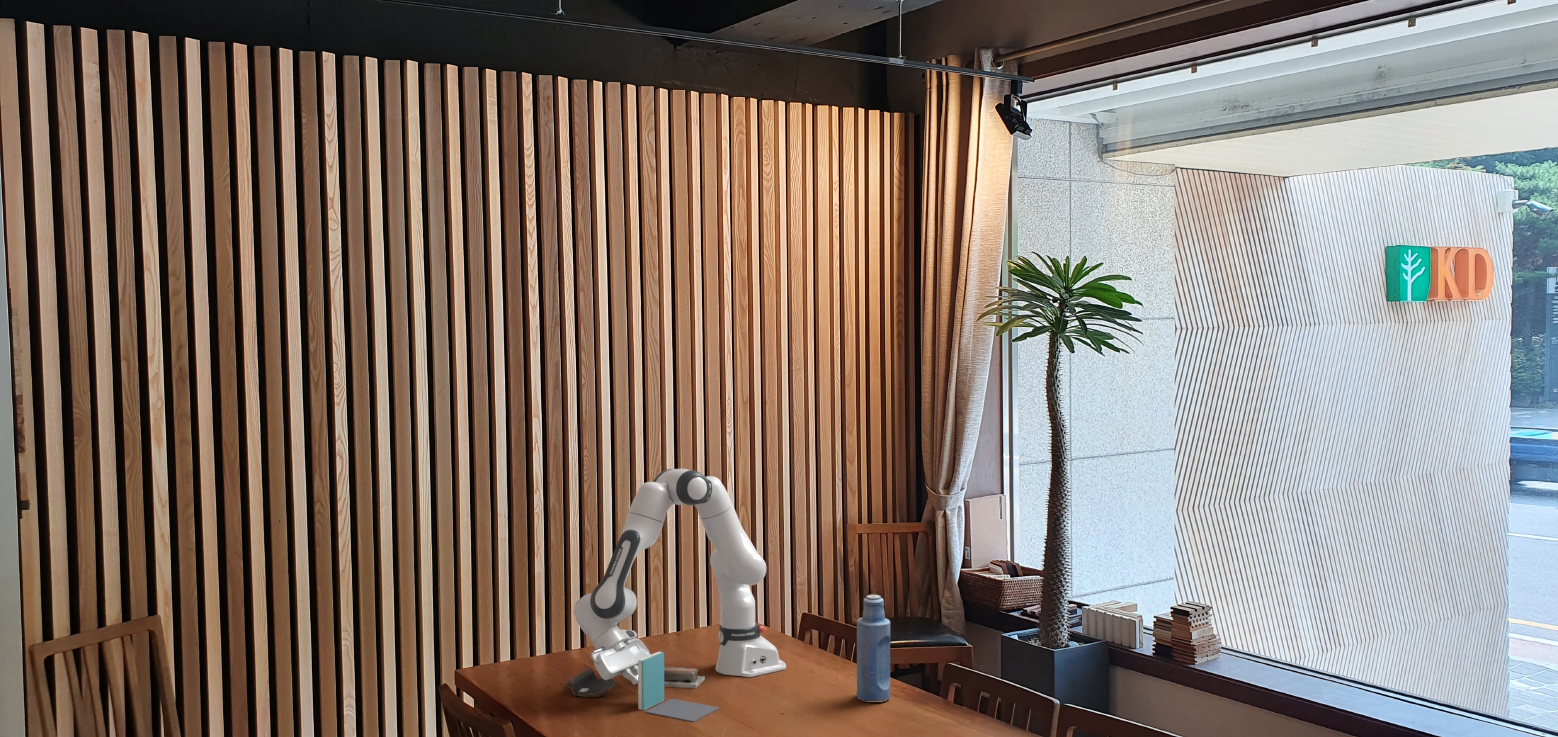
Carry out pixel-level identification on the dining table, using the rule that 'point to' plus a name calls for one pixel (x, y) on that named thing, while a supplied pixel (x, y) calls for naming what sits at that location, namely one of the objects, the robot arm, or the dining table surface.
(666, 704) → the mat
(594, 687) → the pottery fragment
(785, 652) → the dining table surface
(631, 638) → the robot arm
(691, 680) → the packaged product
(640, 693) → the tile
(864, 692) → the bottle
